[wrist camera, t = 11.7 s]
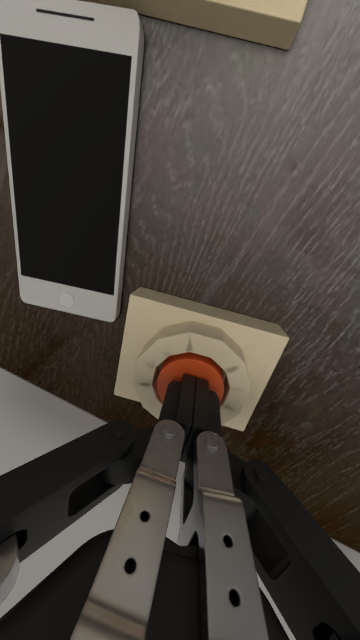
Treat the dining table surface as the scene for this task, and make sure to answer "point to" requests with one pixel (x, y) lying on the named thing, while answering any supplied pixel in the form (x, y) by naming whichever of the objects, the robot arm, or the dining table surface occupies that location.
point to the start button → (190, 372)
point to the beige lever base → (228, 16)
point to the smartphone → (70, 147)
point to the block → (196, 350)
